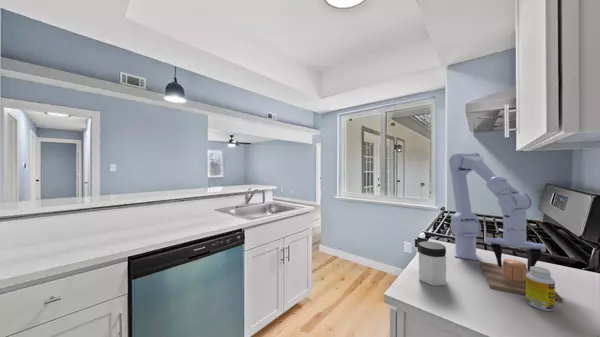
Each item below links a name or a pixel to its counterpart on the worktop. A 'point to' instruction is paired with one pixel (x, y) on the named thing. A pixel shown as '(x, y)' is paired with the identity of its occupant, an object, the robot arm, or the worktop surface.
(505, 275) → the brown rounded block
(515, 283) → the post board
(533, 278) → the supplement bottle
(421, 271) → the jar
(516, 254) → the worktop surface
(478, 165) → the robot arm
